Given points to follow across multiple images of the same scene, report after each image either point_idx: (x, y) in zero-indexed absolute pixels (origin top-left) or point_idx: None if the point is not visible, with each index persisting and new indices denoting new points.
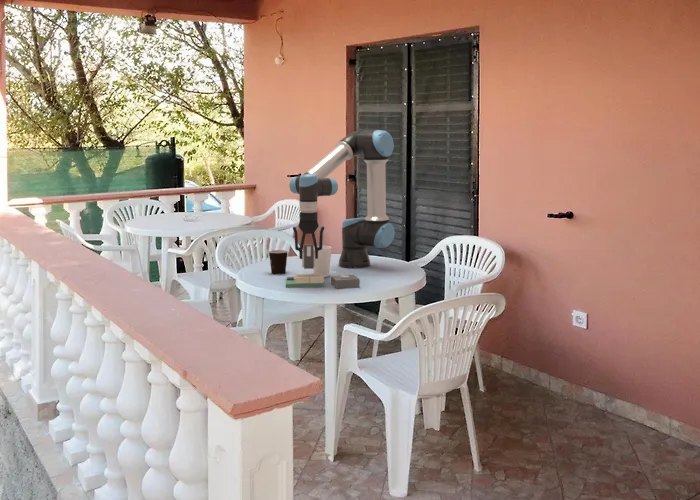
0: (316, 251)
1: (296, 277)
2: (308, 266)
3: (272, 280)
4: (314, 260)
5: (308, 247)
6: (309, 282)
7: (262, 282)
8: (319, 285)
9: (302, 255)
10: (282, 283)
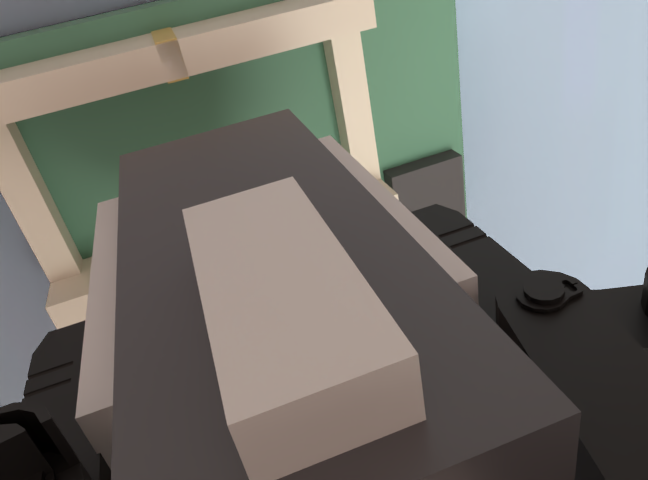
0: (4, 413)
1: (356, 4)
2: (218, 141)
3: (555, 245)
4: (109, 258)
5: (330, 360)
6: (162, 29)
7: (632, 153)
8: (15, 35)
9: (421, 229)
10: (475, 147)
